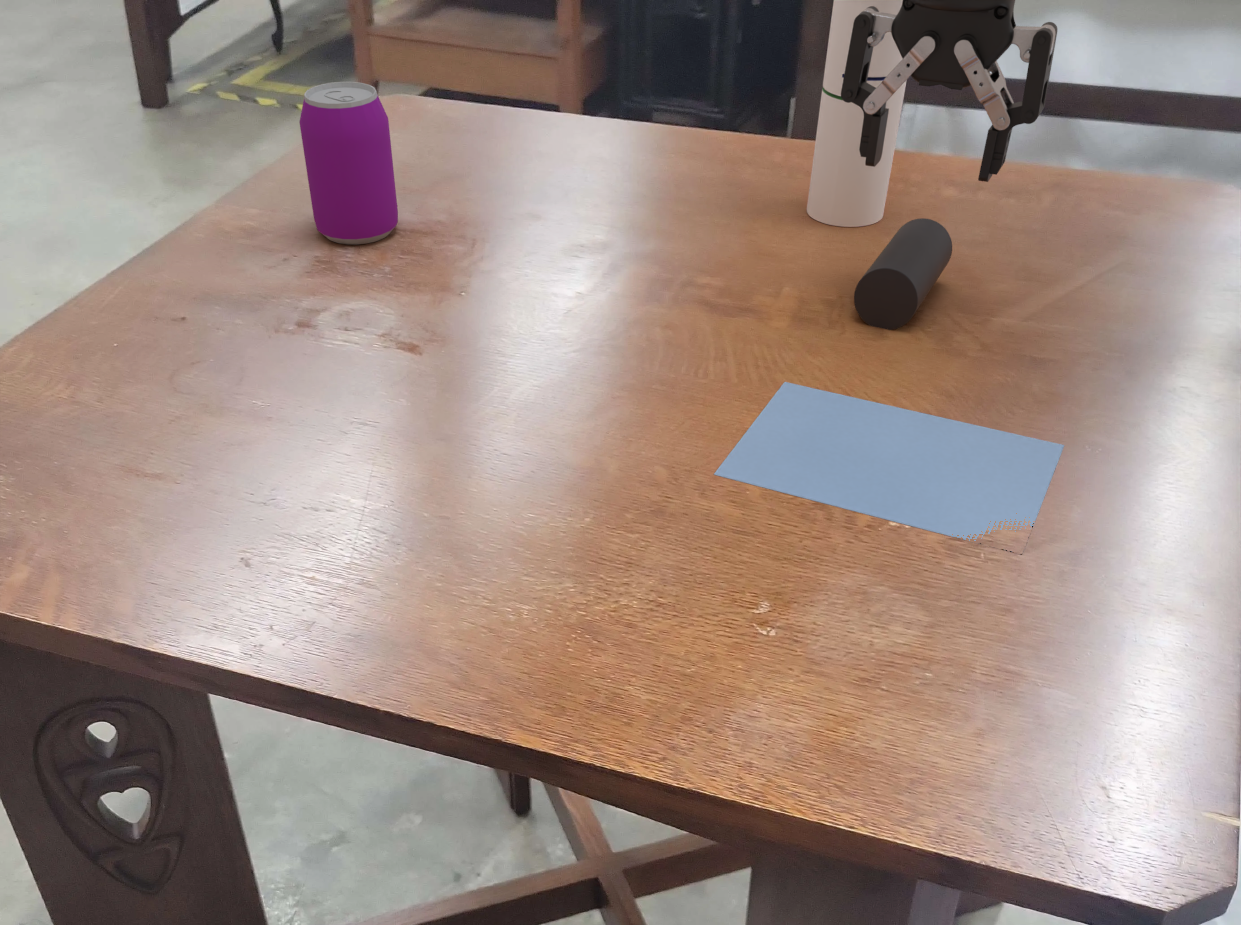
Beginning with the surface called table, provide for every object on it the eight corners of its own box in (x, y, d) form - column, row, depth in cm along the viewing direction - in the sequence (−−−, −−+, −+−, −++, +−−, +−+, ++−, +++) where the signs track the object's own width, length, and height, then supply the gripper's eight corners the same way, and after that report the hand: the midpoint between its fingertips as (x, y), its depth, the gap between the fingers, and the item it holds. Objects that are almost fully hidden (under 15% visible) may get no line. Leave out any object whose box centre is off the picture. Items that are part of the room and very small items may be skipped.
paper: (1063, 447, 81) (1064, 444, 81) (1021, 557, 72) (1022, 554, 71) (784, 384, 88) (784, 381, 87) (713, 476, 78) (713, 474, 78)
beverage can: (416, 231, 109) (403, 92, 101) (347, 255, 106) (328, 112, 98) (367, 208, 114) (351, 73, 106) (300, 230, 110) (277, 92, 102)
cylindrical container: (867, 232, 108) (920, -89, 91) (794, 217, 111) (833, -97, 94) (894, 206, 113) (949, -104, 96) (824, 192, 116) (865, -112, 99)
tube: (894, 279, 102) (889, 221, 99) (954, 275, 100) (950, 215, 97) (856, 332, 95) (850, 270, 92) (919, 329, 92) (915, 265, 90)
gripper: (1093, -83, 79) (1033, 168, 90) (882, -96, 84) (850, 143, 95) (1074, -61, 74) (1013, 201, 85) (851, -76, 79) (821, 173, 90)
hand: (927, 170), depth 90 cm, fingers open, 8 cm apart
